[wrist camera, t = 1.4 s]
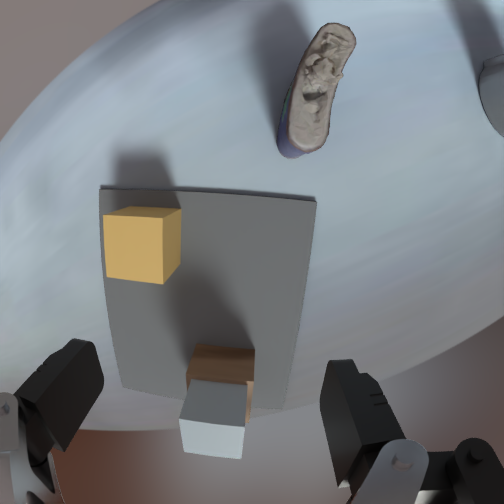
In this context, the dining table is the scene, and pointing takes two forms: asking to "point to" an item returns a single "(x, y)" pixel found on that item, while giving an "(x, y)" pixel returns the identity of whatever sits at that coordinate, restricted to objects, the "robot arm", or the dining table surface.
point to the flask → (314, 91)
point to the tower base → (223, 367)
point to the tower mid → (214, 418)
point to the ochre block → (142, 243)
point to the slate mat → (214, 290)
